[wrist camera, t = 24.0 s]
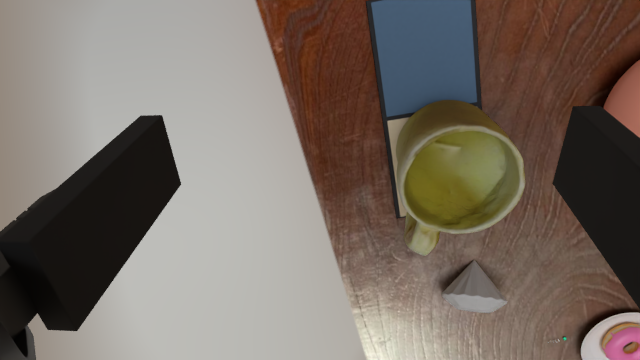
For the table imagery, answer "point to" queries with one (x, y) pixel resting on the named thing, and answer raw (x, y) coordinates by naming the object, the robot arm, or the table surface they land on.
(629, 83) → the sugar bowl
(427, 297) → the table surface
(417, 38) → the sorting mat
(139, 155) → the robot arm
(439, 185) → the mug
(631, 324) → the donut
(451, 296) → the gemstone
